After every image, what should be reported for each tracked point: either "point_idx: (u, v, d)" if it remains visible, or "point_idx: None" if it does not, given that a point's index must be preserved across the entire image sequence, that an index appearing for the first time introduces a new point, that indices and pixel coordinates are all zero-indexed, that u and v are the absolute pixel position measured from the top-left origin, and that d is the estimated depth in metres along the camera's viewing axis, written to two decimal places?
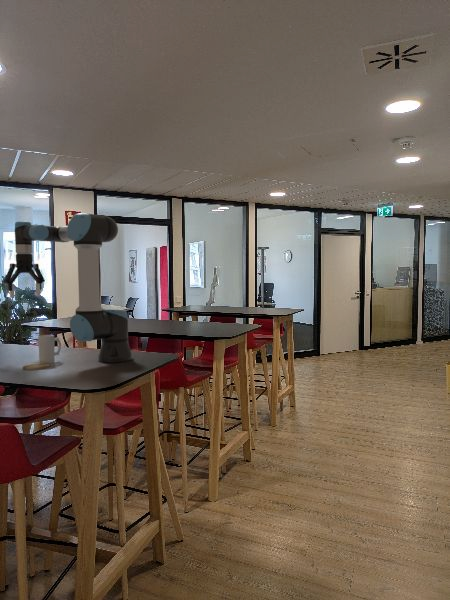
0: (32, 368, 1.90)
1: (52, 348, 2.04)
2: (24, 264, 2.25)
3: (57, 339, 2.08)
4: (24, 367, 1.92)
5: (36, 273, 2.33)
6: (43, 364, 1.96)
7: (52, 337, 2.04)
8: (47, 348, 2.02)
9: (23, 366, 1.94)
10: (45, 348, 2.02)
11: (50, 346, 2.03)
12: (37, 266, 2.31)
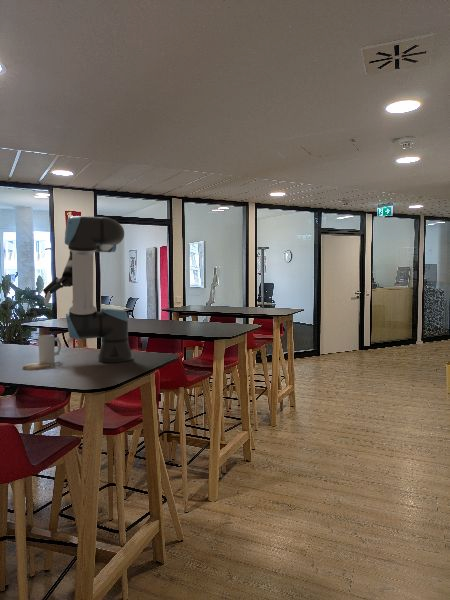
0: (32, 368, 1.90)
1: (52, 348, 2.04)
2: (67, 277, 2.25)
3: (57, 339, 2.08)
4: (24, 367, 1.92)
5: None
6: (43, 364, 1.96)
7: (52, 337, 2.04)
8: (47, 348, 2.02)
9: (23, 366, 1.94)
10: (45, 348, 2.02)
11: (50, 346, 2.03)
12: None
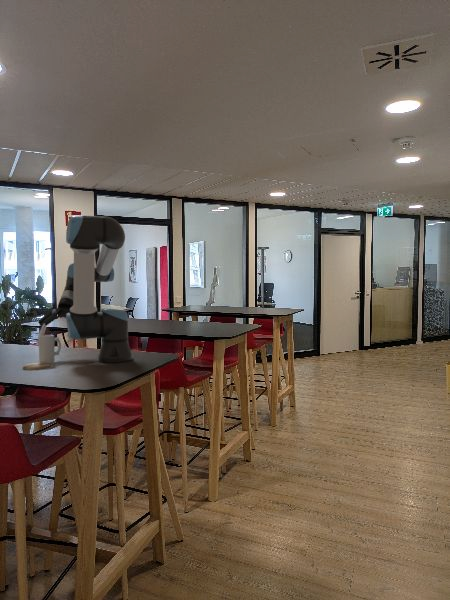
0: (32, 368, 1.90)
1: (52, 348, 2.04)
2: (62, 308, 2.22)
3: (57, 339, 2.08)
4: (24, 367, 1.92)
5: None
6: (43, 364, 1.96)
7: (52, 337, 2.04)
8: (47, 348, 2.02)
9: (23, 366, 1.94)
10: (45, 348, 2.02)
11: (50, 346, 2.03)
12: None
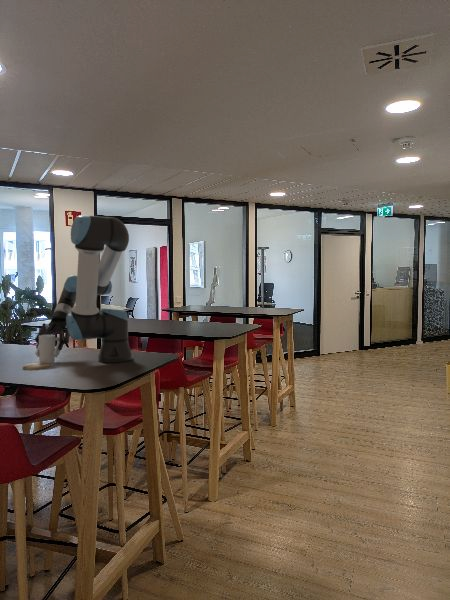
0: (32, 368, 1.90)
1: (52, 348, 2.04)
2: (56, 321, 2.14)
3: (58, 339, 2.08)
4: (24, 367, 1.92)
5: None
6: (43, 364, 1.96)
7: (53, 337, 2.04)
8: (47, 348, 2.02)
9: (23, 366, 1.94)
10: (46, 348, 2.02)
11: (51, 346, 2.03)
12: None
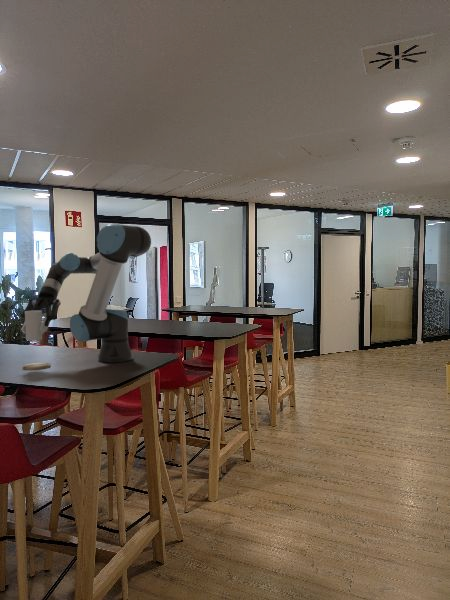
0: (32, 368, 1.90)
1: (39, 324, 1.94)
2: (43, 297, 2.04)
3: (45, 315, 1.98)
4: (24, 367, 1.92)
5: None
6: (43, 364, 1.96)
7: (39, 312, 1.93)
8: (34, 324, 1.92)
9: (23, 366, 1.94)
10: (32, 324, 1.92)
11: (37, 322, 1.93)
12: (56, 301, 2.02)
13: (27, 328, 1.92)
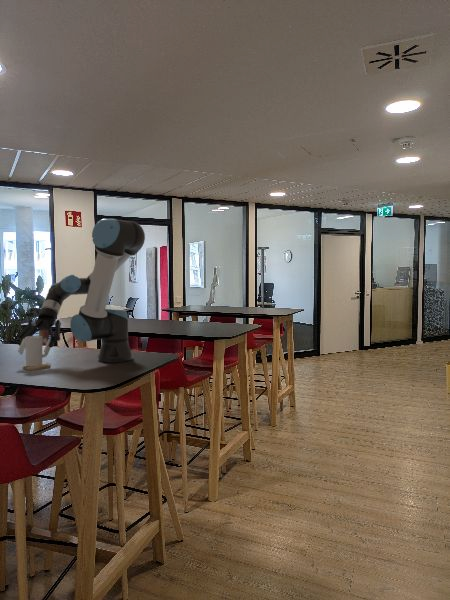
0: (32, 368, 1.90)
1: (40, 350, 1.93)
2: (43, 319, 2.03)
3: (45, 340, 1.97)
4: (24, 367, 1.92)
5: None
6: (43, 364, 1.96)
7: (40, 338, 1.93)
8: (34, 350, 1.91)
9: (23, 366, 1.94)
10: (33, 349, 1.91)
11: (38, 347, 1.92)
12: (57, 322, 2.01)
13: (28, 354, 1.91)
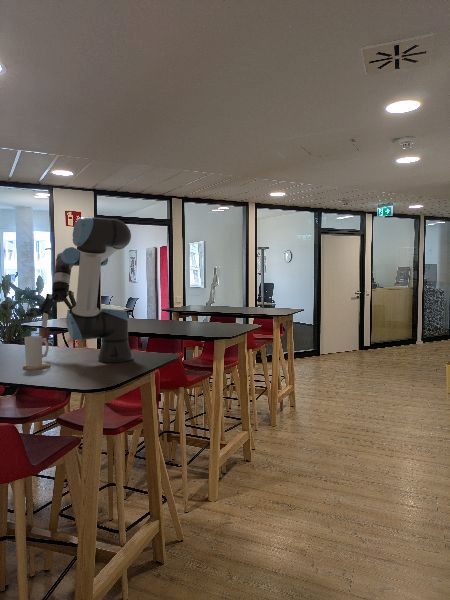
0: (32, 368, 1.90)
1: (40, 350, 1.93)
2: (57, 293, 2.22)
3: (44, 340, 1.97)
4: (24, 367, 1.92)
5: None
6: (43, 364, 1.96)
7: (40, 338, 1.93)
8: (34, 350, 1.91)
9: (23, 366, 1.94)
10: (33, 350, 1.91)
11: (38, 348, 1.92)
12: (69, 293, 2.20)
13: (27, 354, 1.91)
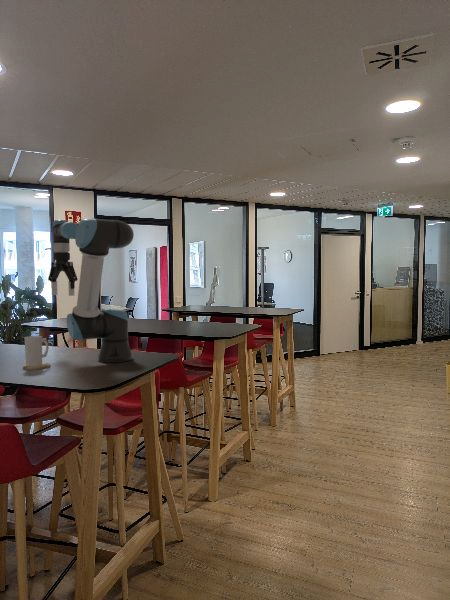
0: (32, 368, 1.90)
1: (40, 350, 1.93)
2: (59, 262, 2.27)
3: (44, 340, 1.97)
4: (24, 367, 1.92)
5: None
6: (43, 364, 1.96)
7: (40, 338, 1.93)
8: (34, 350, 1.91)
9: (23, 366, 1.94)
10: (33, 350, 1.91)
11: (38, 348, 1.92)
12: (68, 264, 2.23)
13: (28, 354, 1.91)
